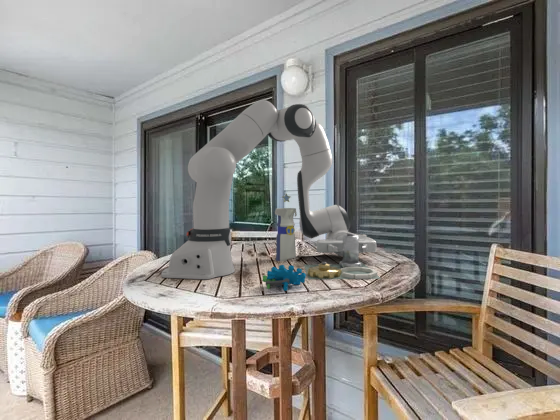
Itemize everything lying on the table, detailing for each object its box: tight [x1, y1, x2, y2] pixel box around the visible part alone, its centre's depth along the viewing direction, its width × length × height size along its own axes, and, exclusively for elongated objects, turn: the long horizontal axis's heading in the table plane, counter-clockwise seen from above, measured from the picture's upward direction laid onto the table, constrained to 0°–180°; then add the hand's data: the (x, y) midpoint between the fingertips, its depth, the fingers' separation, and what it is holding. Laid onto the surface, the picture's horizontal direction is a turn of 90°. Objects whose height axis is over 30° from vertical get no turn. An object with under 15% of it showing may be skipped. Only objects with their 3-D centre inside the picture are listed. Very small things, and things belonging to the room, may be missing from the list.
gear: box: [262, 264, 307, 292], centre depth 82 cm, size 11×6×10 cm
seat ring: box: [341, 267, 378, 280], centre depth 96 cm, size 10×10×1 cm
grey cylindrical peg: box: [338, 232, 363, 268], centre depth 105 cm, size 7×7×11 cm
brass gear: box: [306, 261, 341, 280], centre depth 96 cm, size 10×10×4 cm
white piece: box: [274, 193, 298, 262], centre depth 124 cm, size 8×9×25 cm
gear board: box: [303, 263, 382, 280], centre depth 100 cm, size 20×19×1 cm
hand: (350, 249), depth 106 cm, fingers open, 8 cm apart
